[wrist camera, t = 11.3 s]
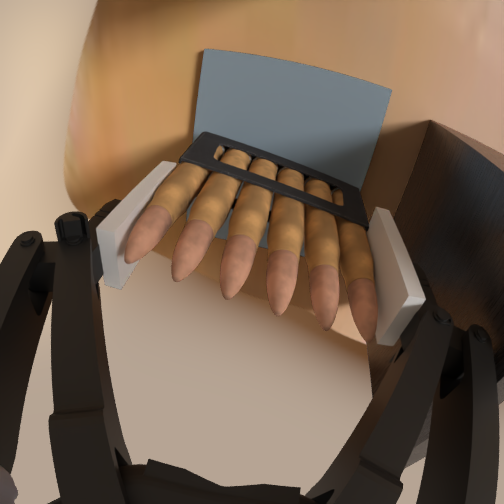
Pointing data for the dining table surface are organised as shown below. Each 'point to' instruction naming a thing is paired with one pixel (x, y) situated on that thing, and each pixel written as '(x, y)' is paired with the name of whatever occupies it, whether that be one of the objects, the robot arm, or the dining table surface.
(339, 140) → the mat
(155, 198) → the ammunition clip
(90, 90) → the dining table surface
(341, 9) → the dining table surface
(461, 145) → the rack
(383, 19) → the dining table surface
